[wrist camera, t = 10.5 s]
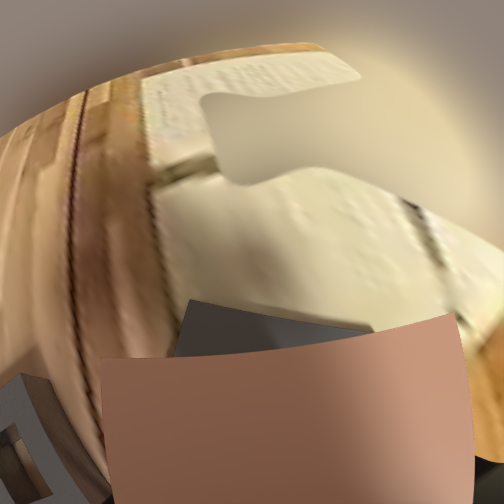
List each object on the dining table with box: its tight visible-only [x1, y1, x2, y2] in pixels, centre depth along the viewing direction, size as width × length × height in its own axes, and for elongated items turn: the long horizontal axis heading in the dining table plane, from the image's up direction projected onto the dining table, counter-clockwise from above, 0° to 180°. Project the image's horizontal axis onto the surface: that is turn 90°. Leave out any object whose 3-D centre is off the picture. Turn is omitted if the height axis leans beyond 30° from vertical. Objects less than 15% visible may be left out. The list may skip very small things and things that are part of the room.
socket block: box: [0, 373, 112, 504], centre depth 11 cm, size 11×11×4 cm
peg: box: [101, 312, 475, 504], centre depth 8 cm, size 4×4×13 cm
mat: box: [173, 299, 372, 358], centre depth 15 cm, size 13×13×1 cm
